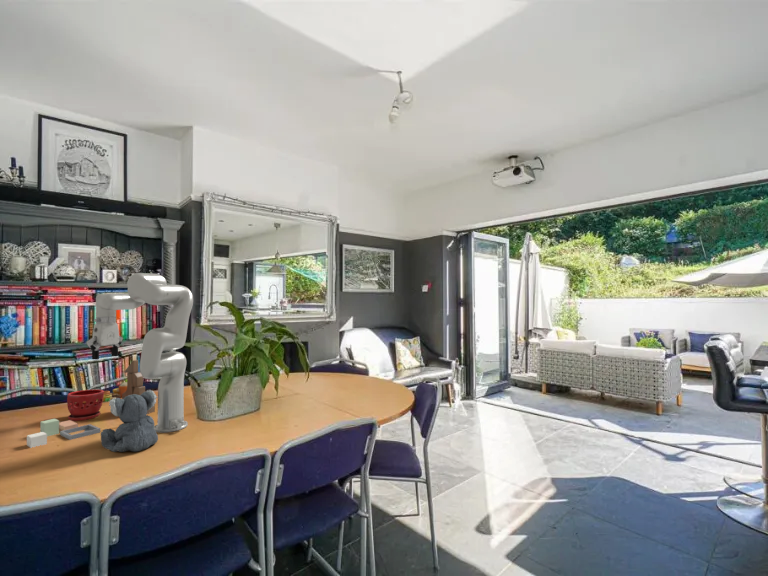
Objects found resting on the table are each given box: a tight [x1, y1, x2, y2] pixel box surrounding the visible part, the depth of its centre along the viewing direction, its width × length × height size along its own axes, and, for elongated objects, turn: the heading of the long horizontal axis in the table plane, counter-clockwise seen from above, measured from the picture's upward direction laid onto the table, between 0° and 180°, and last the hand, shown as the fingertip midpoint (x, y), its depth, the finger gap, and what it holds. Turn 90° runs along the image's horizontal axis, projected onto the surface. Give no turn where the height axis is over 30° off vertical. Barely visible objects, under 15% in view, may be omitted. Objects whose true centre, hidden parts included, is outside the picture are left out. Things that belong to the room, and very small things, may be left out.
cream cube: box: [26, 432, 48, 449], centre depth 140 cm, size 4×4×4 cm
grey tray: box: [59, 423, 101, 441], centre depth 152 cm, size 10×10×2 cm
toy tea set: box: [83, 379, 127, 404], centre depth 206 cm, size 26×16×10 cm, turn 163°
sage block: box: [39, 418, 60, 437], centre depth 151 cm, size 4×4×6 cm
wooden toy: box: [121, 359, 156, 415], centre depth 182 cm, size 16×7×25 cm, turn 71°
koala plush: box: [100, 389, 159, 453], centre depth 140 cm, size 17×18×20 cm
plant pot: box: [66, 389, 105, 422], centre depth 174 cm, size 13×13×12 cm
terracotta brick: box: [59, 419, 79, 431], centre depth 158 cm, size 9×4×3 cm, turn 56°
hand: (105, 357), depth 177 cm, fingers open, 9 cm apart
